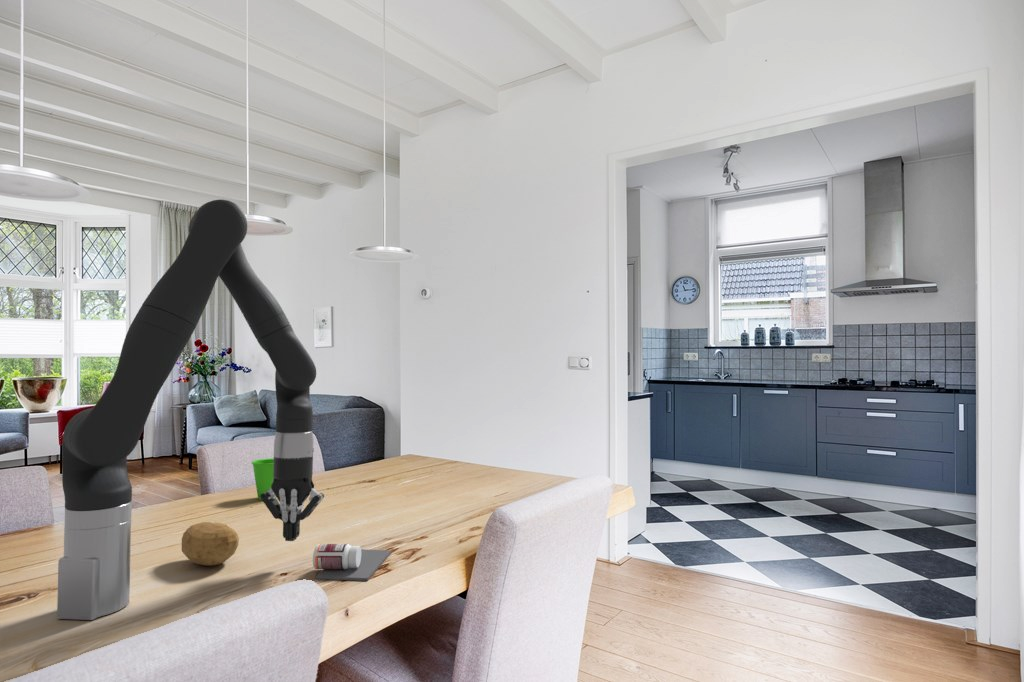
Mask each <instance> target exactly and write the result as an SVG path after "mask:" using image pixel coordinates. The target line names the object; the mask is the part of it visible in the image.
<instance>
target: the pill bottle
mask: <svg viewBox="0 0 1024 682" xmlns="http://www.w3.org/2000/svg"><path fill="white" fill-rule="evenodd" d="M361 549H362V548H361V546H360V545H351V544H348V543H317V544H316V546H315V547H314V551H313V553H312V565H313V567H314V569H316V570H324V569H343V570H345V569H348V568H349V567H352V568H358V567H359V565H360V562H361Z"/></svg>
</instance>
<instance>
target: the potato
mask: <svg viewBox="0 0 1024 682" xmlns="http://www.w3.org/2000/svg"><path fill="white" fill-rule="evenodd" d="M239 540H240V538H239V535H238V533H237V531H236V530H235V529H234V528H232V527H231V526H229V525H227V524H225V523H221V522H210V521H202V522H199V523H195V524H193V525H190V526H189V527H188V528H187V529H186V530H185V531H184V532H183V534H182V536H181V551H182V554H183V555H185V557H186V558H187V559H188V560H189V561H190V562H191V563H194V564H197V565H202V566H206V567H207V566H209V567H210V566H211V567H212V566H217V565H220V564H223V563H225V562H227V560H229V558H231V557H232V556H233V555H235V554H236V551H237V549H238V546H239Z"/></svg>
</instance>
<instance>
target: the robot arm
mask: <svg viewBox="0 0 1024 682" xmlns="http://www.w3.org/2000/svg"><path fill="white" fill-rule="evenodd" d="M247 233H248V219H247V216H246V213H244V210H243V209H242V208H241V207H240V206H239V205H238V204H236V203H235V202H233V201H231V200H227V199H214V200H211V201H208V202H205V203H204V204H202V205H201V206H200V207H199V208H197V210H196V211H195V213H194V214H193V216H191V219H190V221H189V224H188V235H187V237H186V239H185V242H184V244H183V246H182V248H181V250H180V251H179V254H178V256H177V257H176V259H175V260H174V262H173V263H172V264H170V267H168V269H167V270H166V271H165V272H164V274H163V275H162V276H161V278H160V279H159V280H158V282H156V284H155V285H154V286H153V288H152V290H151V291H150V292H149V294H148V295H147V297H146V298H145V299H144V301H143V303H142V305H141V306H140V308H139V309H138V311H137V312H136V315H135V317H134V318H133V320H132V322H131V324H130V326H129V328H128V330H127V332H126V334H125V338H124V340H123V344H122V347H121V351H120V355H119V358H118V362H117V367H116V369H115V372H114V374H113V376H112V378H111V381H110V382H109V384H108V385H107V387H106V389H104V390H105V391H104V392H103V393H102V395H101V396H100V397H99V399H98V400H97V403H96V404H95V405H94V406H93V407H90V408H86V409H83V410H82V411H80V412H78V413H76V414H75V415H73V417H71V418H70V419H69V421H68V422H67V423H66V425H65V427H64V431H63V436H62V442H61V443H62V447H61V448H62V451H61V455H62V458H61V462H62V464H61V465H62V466H61V467H62V468H61V472H62V474H61V476H62V477H61V481H62V482H61V483H62V490H63V494H64V496H63V497H64V525H63V526H64V527H63V531H64V533H63V557H60V558H59V559H58V562H57V564H58V565H57V567H58V568H57V602H56V603H57V604H56V605H57V606H56V619H58V620H59V619H60V620H63V619H64V620H79V621H80V620H82V621H83V620H84V621H86V620H87V621H92V620H95V619H98V618H100V617H103V616H106V615H110V614H113V613H115V612H117V611H119V610H122V609H123V608H125V607H127V606H128V605H129V603H130V595H131V593H130V590H131V588H130V585H131V552H132V549H131V546H132V545H131V544H132V543H131V542H132V541H131V540H132V510H133V509H132V507H133V505H132V502H133V487H132V483H131V481H130V478H129V473H128V466H127V465H128V462H127V461H128V460H127V459H128V458H127V457H128V456H130V455H131V453H132V452H133V451H134V450H135V448H136V447H137V445H138V443H139V440H140V438H141V435H142V433H143V430H144V428H145V426H146V423H147V421H148V418H149V415H150V412H151V410H152V408H153V405H154V403H155V401H156V398H157V396H158V394H159V393H160V391H161V389H162V387H163V385H164V384H165V382H166V380H167V379H168V377H169V376H170V374H171V372H172V371H173V370H174V367H175V366H176V364H177V362H178V360H179V358H180V356H181V355H182V353H183V351H184V349H185V348H186V346H187V345H188V343H189V342H190V339H191V337H192V336H193V333H194V331H195V329H196V327H197V326H198V323H199V322H200V319H201V317H202V315H203V313H204V311H205V309H206V307H207V304H208V302H209V299H210V297H211V294H212V291H213V290H214V287H215V285H216V282H217V280H218V278H220V280H221V281H222V283H223V284H224V285H225V286H226V288H227V290H228V292H229V293H230V295H231V297H232V298H233V300H234V301H235V303H236V305H237V306H238V308H239V311H241V314H242V316H243V317H244V319H245V321H246V323H247V325H248V327H249V328H250V330H251V332H252V334H253V335H254V337H255V339H256V341H257V343H258V344H259V346H260V348H262V350H264V352H266V354H267V356H268V357H269V359H270V361H271V362H272V364H273V367H274V369H275V374H274V376H275V377H274V384H275V387H274V388H275V397H276V398H275V399H276V415H275V436H274V442H273V458H274V461H273V477H274V480H273V483H272V485H271V489H269V490H268V491H267V492H265V493H263V494H261V495H260V498H261V499H262V500H261V501H262V502H263V504H264V505H265V507H266V508H267V509H268V510H269V512H270V514H271V515H272V517H273V518H274V519H276V520H277V519H278V520H281V521H282V538H284V540H285V541H286V542H295V540H297V538H298V537H299V536H300V531H301V530H300V529H301V528H300V527H301V526H300V524H301V521H303V520H305V519H307V518H308V517H309V516H311V514H312V513H313V512H314V510H315V509H316V508H317V507H318V506H319V504H320V503H321V502H322V501H323V499H324V497H325V494H324V493H323V492H318V491H317V489H315V484H314V482H313V473H314V472H313V471H314V469H313V468H314V451H315V450H314V449H315V448H314V436H313V435H314V434H313V428H314V427H313V426H314V425H313V423H314V421H313V420H314V415H313V414H314V412H313V406H312V404H311V400H310V393H311V392H310V391H311V389H310V388H311V386H312V385H313V384H314V382H315V381H316V378H317V367H316V365H315V362H314V361H313V358H312V357H311V356H310V354H309V352H308V351H307V349H306V348H305V346H304V345H303V343H302V342H301V341H300V339H299V338H298V337H297V335H296V334H295V331H294V329H293V327H292V325H291V322H290V321H289V318H287V315H286V314H285V311H284V310H283V308H282V307H281V305H280V303H279V301H278V300H277V299H276V297H275V296H274V294H273V293H272V292H271V291H270V290H269V288H268V287H267V286H266V285H265V283H263V282H262V279H260V278H259V277H258V276H257V274H256V272H255V271H254V270H253V268H252V266H251V264H250V263H249V261H248V259H247V257H246V254H245V252H244V251H245V250H244V248H243V247H242V242H243V241H244V239H245V238H246V237H247ZM307 499H308V500H309V502H308V504H307V505H306V506H305V507H304V505H305V501H306V500H307Z"/></svg>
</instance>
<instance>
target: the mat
mask: <svg viewBox="0 0 1024 682" xmlns="http://www.w3.org/2000/svg"><path fill="white" fill-rule="evenodd" d="M391 554H392V550H391V549H390V550H388V549H387V550H386V549H362V548H361V562H360V565H359V567H358V568H352V567H349V568H348V569H345V570H343V569H322V571H320V572H319V573H318V574H317V575H316V576H315V580H335V581H358V582H360V581H362V582H364V581H365V582H368V581H369V580H370V579H371V578H372V576H374V574H375V573H376V572H377V571H378V570H379V568H380V567H381V566H382V565H383V564H384V562H385V561H386V560H387V559H388V558H389V557H390V555H391Z"/></svg>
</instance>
